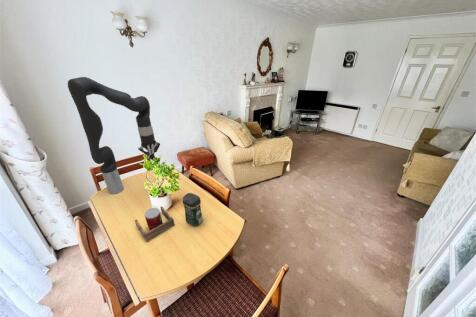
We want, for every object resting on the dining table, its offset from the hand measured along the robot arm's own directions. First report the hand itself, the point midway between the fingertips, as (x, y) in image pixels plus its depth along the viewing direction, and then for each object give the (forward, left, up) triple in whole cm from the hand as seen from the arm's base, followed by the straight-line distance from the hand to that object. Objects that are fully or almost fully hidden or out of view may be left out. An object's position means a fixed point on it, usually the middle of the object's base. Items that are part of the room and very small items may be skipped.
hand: (152, 159), depth 121 cm
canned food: (+24, -14, -29) cm, 40 cm away
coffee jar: (+35, +4, -29) cm, 46 cm away
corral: (+23, -14, -29) cm, 40 cm away
